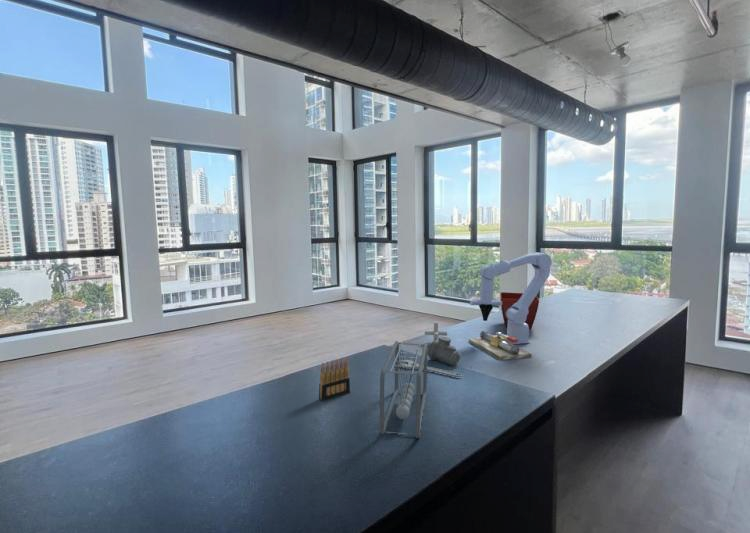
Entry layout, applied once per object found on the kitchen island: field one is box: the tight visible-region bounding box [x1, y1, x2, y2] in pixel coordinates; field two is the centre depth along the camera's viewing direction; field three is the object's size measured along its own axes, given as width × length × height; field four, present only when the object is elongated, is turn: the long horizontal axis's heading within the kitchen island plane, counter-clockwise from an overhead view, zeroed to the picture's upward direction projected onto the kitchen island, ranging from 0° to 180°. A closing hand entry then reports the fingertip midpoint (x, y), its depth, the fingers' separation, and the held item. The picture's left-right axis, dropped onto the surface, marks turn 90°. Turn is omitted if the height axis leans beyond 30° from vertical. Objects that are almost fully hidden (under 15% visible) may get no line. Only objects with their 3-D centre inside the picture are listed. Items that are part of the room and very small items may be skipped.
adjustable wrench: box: [399, 359, 463, 378], centre depth 152 cm, size 25×6×2 cm, turn 54°
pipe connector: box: [424, 321, 448, 341], centre depth 187 cm, size 10×10×10 cm
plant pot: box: [499, 291, 540, 330], centre depth 220 cm, size 19×19×17 cm
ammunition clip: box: [318, 356, 351, 402], centre depth 130 cm, size 11×2×12 cm, turn 128°
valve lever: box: [495, 331, 518, 343], centre depth 175 cm, size 13×2×1 cm, turn 18°
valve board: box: [468, 337, 532, 361], centre depth 180 cm, size 15×26×2 cm, turn 16°
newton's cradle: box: [378, 340, 429, 439], centre depth 118 cm, size 30×10×18 cm, turn 169°
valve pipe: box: [479, 330, 520, 355], centre depth 180 cm, size 4×25×6 cm, turn 16°
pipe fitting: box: [427, 335, 461, 367], centre depth 162 cm, size 12×8×10 cm
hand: (484, 320), depth 190 cm, fingers closed
